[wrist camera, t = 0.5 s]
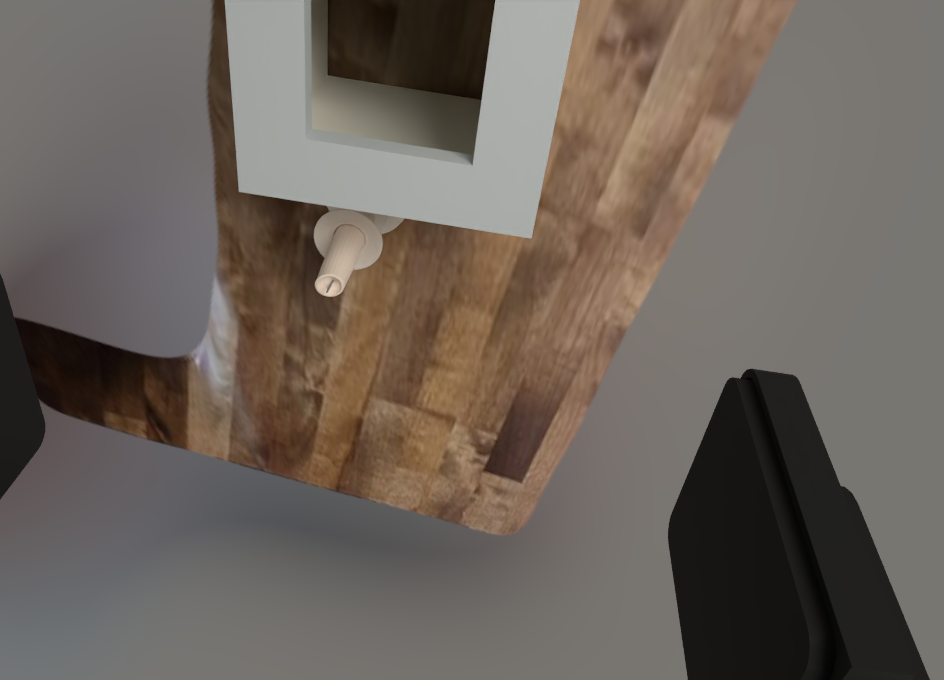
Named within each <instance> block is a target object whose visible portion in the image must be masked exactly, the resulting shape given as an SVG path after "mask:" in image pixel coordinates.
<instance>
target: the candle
mask: <svg viewBox="0 0 944 680" xmlns="http://www.w3.org/2000/svg"><path fill="white" fill-rule="evenodd" d="M327 208H328V210H329V212H328V213H326V214H324V215H323V216H322V217H321V218H320V219H319V220H318V221H317V224H316V226H315V229H314V241H315V245H316V247H317V249H318V250H319V252H320V253H321V255H322V256H323V257H324V258H325V259H324V261H323V264H322V266H321V269H320V272H319V275H318V277H317V280H316V282H315V287H316V290H317V291H318V292H319V293H320V294H322V295H324V296H328V297H332V296H336V295H338V294H340V293H341V292H342V291H343V289H344V287H345V285H346V283H347V281H348V279H349V277H350V275H351V273H352V271H353V270H358V269H362V268H366V267H368V266H370V265H372V264H373V263H374V262H375V261H376V260H377V259H378V258H379V256H380V254H381V252H382V247H383V240H382V235H381V234H384V233H388V232H390V231H391V230H393V229H395V228H396V227H397V226H398V225H399V224H400V223H401V222H402V221H403V220H404V218H400V217H394V216H387V215H381V214H375V213H369V212H362V211H356V210H350V209H344V208H337V207H331V206H327Z"/></svg>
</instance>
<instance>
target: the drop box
mask: <svg viewBox="0 0 944 680" xmlns="http://www.w3.org/2000/svg"><path fill="white" fill-rule="evenodd" d="M579 3H580V0H495V6H494V14H493V21H492V28H491V35H490V43H489V50H488V57H487V64H486V72H485V79H484V86H483V93H482V100H478V99H472V98H465V97H459V96H453V95H447V94H440V93H434V92H428V91H422V90H415V89H409V88H403V87H397V86H391V85H384V84H378V83H372V82H366V81H359V80H353V79H347V78H341V77H335V76H328V0H225V11H226V24H227V38H228V51H229V65H230V78H231V92H232V105H233V119H234V132H235V146H236V159H237V173H238V186H239V192H243V193H250V194H256V195H262V196H268V197H275V198H281V199H287V200H294V201H300V202H306V203H312V204H319V205H325V206H331V207H337V208H344V209H350V210H356V211H362V212H369V213H375V214H381V215H387V216H394V217H400V218H406V219H412V220H419V221H425V222H431V223H437V224H444V225H450V226H456V227H463V228H469V229H475V230H481V231H488V232H494V233H500V234H506V235H513V236H519V237H525V238H532V233H533V228H534V223H535V218H536V214H537V209H538V204H539V199H540V194H541V189H542V184H543V179H544V174H545V169H546V165H547V160H548V155H549V150H550V145H551V140H552V135H553V130H554V125H555V120H556V116H557V111H558V106H559V101H560V96H561V91H562V86H563V81H564V76H565V71H566V67H567V62H568V57H569V52H570V47H571V42H572V37H573V32H574V27H575V22H576V18H577V13H578V8H579Z"/></svg>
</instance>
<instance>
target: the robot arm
mask: <svg viewBox="0 0 944 680" xmlns="http://www.w3.org/2000/svg"><path fill="white" fill-rule="evenodd" d="M44 434H45V421H44V417H43V414H42V410H41V407H40V403H39V400H38V396H37V393H36V390H35V386H34V383H33V380H32V376H31V373H30V370H29V366H28V363H27V359H26V356H25V353H24V349H23V346H22V343H21V339H20V336H19V333H18V329H17V326H16V322H15V319H14V316H13V312H12V309H11V306H10V302H9V299H8V296H7V292H6V289H5V286H4V282H3V279H2V277H1V275H0V499H1V498H2V496H3V495H4V494H5V492H6V491H7V490H8V488H9V487H10V486H11V485H12V483H13V482H14V481H15V479H16V478H17V477H18V475H19V474H20V473H21V471H22V470H23V469H24V467H25V466H26V465H27V463H28V462H29V460H31V458H32V457H33V456H34V454H35V453H36V452H37V450H38V449H39V447H40V446H41V443H42V441H43V438H44ZM668 542H669V550H670V557H671V564H672V571H673V578H674V585H675V592H676V598H677V606H678V613H679V619H680V626H681V634H682V640H683V648H684V654H685V662H686V669H687V676H688V680H930V679H929V677H928V675H927V672H926V670H925V667H924V665H923V662H922V660H921V657H920V655H919V652H918V650H917V647H916V645H915V642H914V640H913V638H912V635H911V633H910V630H909V628H908V625H907V623H906V620H905V618H904V615H903V613H902V611H901V608H900V606H899V603H898V601H897V598H896V596H895V594H894V591H893V588H892V586H891V584H890V582H889V579H888V576H887V574H886V571H885V569H884V566H883V564H882V561H881V559H880V557H879V554H878V552H877V549H876V547H875V545H874V542H873V539H872V537H871V534H870V532H869V530H868V527H867V525H866V522H865V520H864V517H863V515H862V512H861V510H860V507H859V505H858V503H857V501H856V500H855V498H854V496H853V494H852V493H851V492H850V491H849V490H848V489H846V488H845V487H842V486H840V483H839V481H838V479H837V476H836V473H835V471H834V468H833V465H832V463H831V460H830V458H829V456H828V453H827V450H826V448H825V445H824V443H823V440H822V438H821V435H820V432H819V430H818V427H817V425H816V422H815V420H814V417H813V415H812V412H811V410H810V407H809V404H808V402H807V399H806V397H805V394H804V392H803V390H802V387H801V384H800V382H799V380H798V379H797V377H795V376H794V375H789V374H783V373H777V372H769V371H763V370H756V369H749V370H746V371H745V372H744V373H743V375H742V377H741V379H739V378H730V379H729V380H728V381H727V382H726V384H725V386H724V388H723V391H722V393H721V396H720V398H719V401H718V403H717V405H716V408H715V410H714V413H713V415H712V417H711V420H710V422H709V425H708V427H707V429H706V432H705V434H704V437H703V439H702V441H701V444H700V447H699V449H698V451H697V454H696V456H695V458H694V461H693V463H692V466H691V468H690V470H689V473H688V475H687V478H686V480H685V483H684V485H683V487H682V490H681V492H680V495H679V497H678V499H677V502H676V505H675V507H674V509H673V512H672V514H671V517H670V522H669V529H668Z"/></svg>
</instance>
